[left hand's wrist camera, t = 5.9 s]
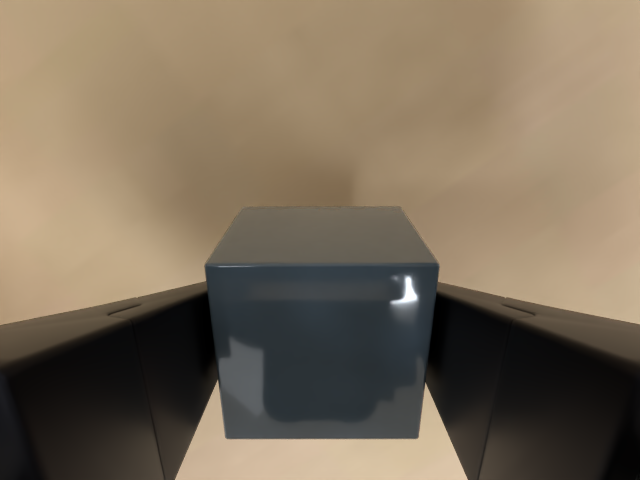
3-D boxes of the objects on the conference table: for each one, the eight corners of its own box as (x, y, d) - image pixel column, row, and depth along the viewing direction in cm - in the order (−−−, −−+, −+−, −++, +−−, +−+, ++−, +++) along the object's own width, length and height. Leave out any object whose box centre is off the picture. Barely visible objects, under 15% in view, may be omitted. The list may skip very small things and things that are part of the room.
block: (251, 340, 13) (224, 440, 9) (241, 205, 11) (202, 263, 8) (391, 339, 13) (419, 440, 9) (401, 205, 11) (441, 263, 8)
